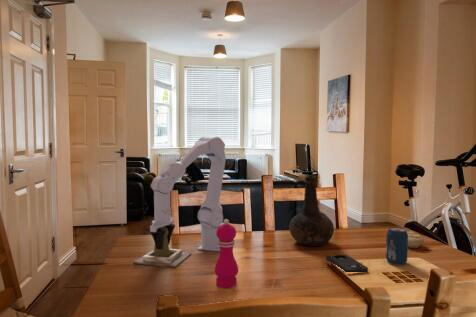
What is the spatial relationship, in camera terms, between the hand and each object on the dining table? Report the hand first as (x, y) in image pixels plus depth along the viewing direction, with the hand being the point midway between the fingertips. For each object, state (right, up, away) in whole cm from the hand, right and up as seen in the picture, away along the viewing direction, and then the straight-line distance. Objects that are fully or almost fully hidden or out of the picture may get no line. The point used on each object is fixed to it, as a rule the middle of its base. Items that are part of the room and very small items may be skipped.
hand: (163, 246), depth 136 cm
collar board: (0, -5, 0) cm, 5 cm away
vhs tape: (+64, -6, -7) cm, 65 cm away
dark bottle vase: (+57, -3, +19) cm, 61 cm away
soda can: (+83, -5, -4) cm, 83 cm away
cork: (-1, -4, +1) cm, 4 cm away
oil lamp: (+97, -4, +17) cm, 99 cm away
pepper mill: (+24, -6, -22) cm, 33 cm away
